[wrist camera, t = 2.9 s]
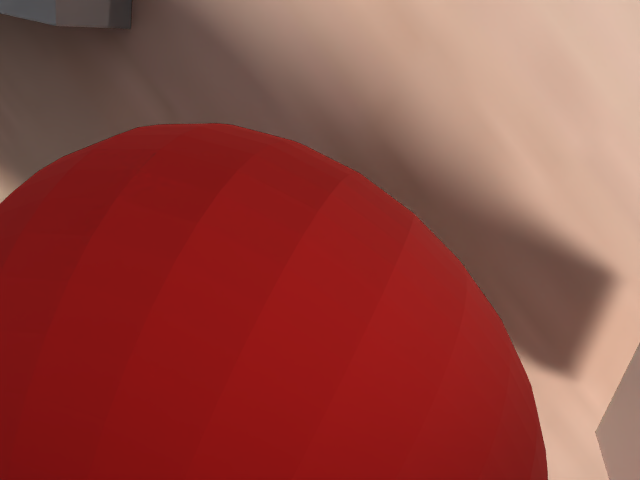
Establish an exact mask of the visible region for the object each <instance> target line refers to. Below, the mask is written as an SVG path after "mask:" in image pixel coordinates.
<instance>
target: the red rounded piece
mask: <svg viewBox="0 0 640 480" xmlns="http://www.w3.org/2000/svg"><path fill="white" fill-rule="evenodd" d="M0 480H548V471H547V461H546V450H545V445H544V441H543V436H542V431H541V427H540V422H539V418H538V413H537V408H536V404H535V400H534V395H533V391H532V387H531V384H530V382H529V379H528V377H527V374H526V372H525V370H524V367H523V365H522V363H521V361H520V359H519V357H518V355H517V352H516V350H515V348H514V346H513V344H512V342H511V340H510V338H509V335H508V333H507V331H506V329H505V327H504V325H503V323H502V320H501V319H500V317H499V316H498V314H497V313H496V311H495V310H494V308H493V307H492V306H491V304H490V303H489V301H488V300H487V298H486V297H485V296H484V294H483V293H482V291H481V290H480V289H479V287H478V286H477V284H476V283H475V282H474V280H473V279H472V277H471V276H470V274H469V273H468V272H467V270H466V269H465V267H464V266H463V265H462V263H461V262H460V260H459V259H458V258H457V257H456V256H455V255H454V254H453V253H452V252H451V251H450V250H449V249H448V248H447V247H446V246H445V245H444V244H443V243H442V242H441V241H440V240H439V239H438V238H437V237H436V236H435V235H434V234H433V233H432V232H431V231H430V230H429V229H428V228H427V227H426V226H425V225H424V224H423V222H422V221H421V220H420V219H419V218H418V217H417V216H416V215H415V214H414V213H412V212H411V211H410V210H408V209H407V208H406V207H404V206H403V205H402V204H400V203H399V202H398V201H396V200H395V199H394V198H392V197H391V196H390V195H388V194H387V193H386V192H384V191H383V190H382V189H380V188H379V187H377V186H376V185H375V184H373V183H372V182H371V181H369V180H368V179H367V178H365V177H364V176H363V175H361V174H360V173H358V172H356V171H354V170H352V169H350V168H348V167H346V166H344V165H342V164H340V163H338V162H336V161H334V160H332V159H330V158H328V157H326V156H324V155H322V154H320V153H319V152H317V151H315V150H313V149H311V148H309V147H307V146H305V145H303V144H300V143H298V142H295V141H292V140H289V139H285V138H281V137H277V136H273V135H270V134H266V133H262V132H258V131H254V130H250V129H247V128H243V127H239V126H235V125H230V124H219V123H208V124H158V125H151V126H144V127H137V128H135V129H132V130H129V131H127V132H124V133H121V134H118V135H116V136H113V137H111V138H108V139H106V140H103V141H101V142H98V143H96V144H93V145H91V146H88V147H86V148H83V149H81V150H78V151H76V152H73V153H71V154H69V155H66V156H64V157H62V158H60V159H58V160H56V161H55V162H53V163H51V164H50V165H48V166H46V167H44V168H43V169H41V170H39V171H38V172H37V173H35V174H34V175H33V176H32V177H30V178H29V179H28V180H27V181H25V182H24V183H23V184H22V185H21V186H19V187H18V188H17V189H16V190H14V191H13V192H12V193H11V194H10V195H9V196H8V197H7V198H6V199H5V200H4V201H3V202H1V203H0Z"/></svg>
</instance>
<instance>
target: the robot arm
mask: <svg viewBox="0 0 640 480" xmlns="http://www.w3.org/2000/svg"><path fill="white" fill-rule="evenodd" d="M595 433H596V436H597V440H598V443H599V446H600V450H601V453H602V456H603V460H604V463H605V466H606V470H607V473H608V476H609V480H640V343H639V345H638V347H637V349H636V351H635V353H634V355H633V357H632V359H631V361H630V363H629V365H628V367H627V369H626V371H625V373H624V375H623V377H622V379H621V382H620V384H619V386H618V388H617V390H616V392H615V394H614V396H613V398H612V400H611V402H610V404H609V406H608V408H607V410H606V412H605V414H604V416H603V418H602V420H601V422H600V424H599V426H598V428H597V430H596V432H595Z"/></svg>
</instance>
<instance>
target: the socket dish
mask: <svg viewBox="0 0 640 480" xmlns="http://www.w3.org/2000/svg"><path fill="white" fill-rule="evenodd" d="M131 4H132V0H0V13H1V14H5V15H9V16H14V17H18V18H23V19H27V20H32V21H36V22H41V23H45V24H50V25H54V26H72V27H98V28H124V29H131Z"/></svg>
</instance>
